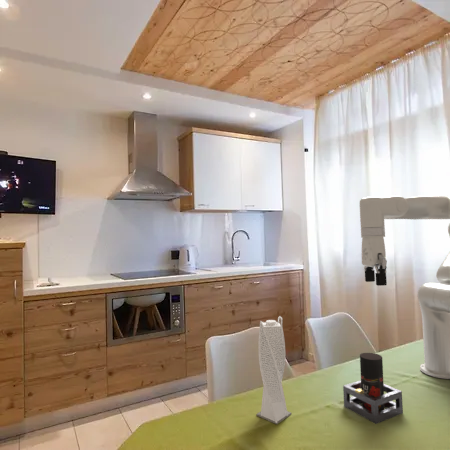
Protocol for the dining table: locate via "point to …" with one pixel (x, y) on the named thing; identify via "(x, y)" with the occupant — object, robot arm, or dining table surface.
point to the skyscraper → (272, 371)
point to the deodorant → (372, 377)
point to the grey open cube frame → (373, 402)
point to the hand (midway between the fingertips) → (375, 283)
